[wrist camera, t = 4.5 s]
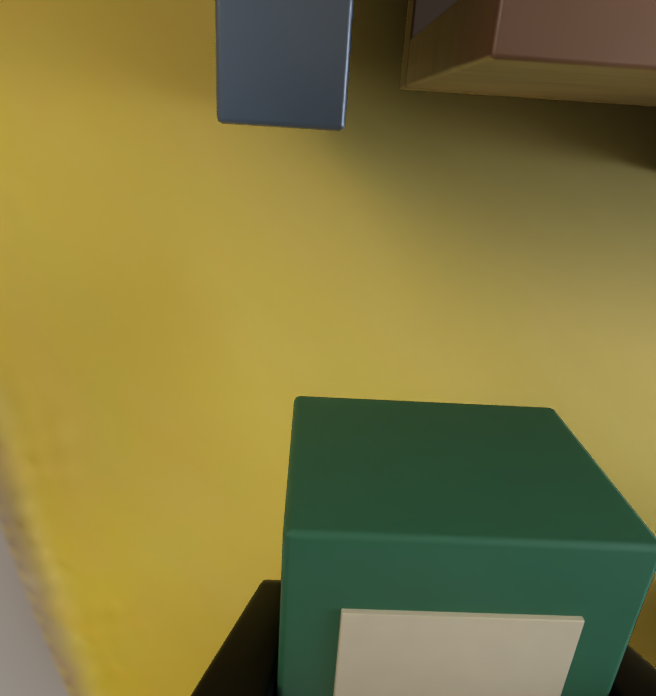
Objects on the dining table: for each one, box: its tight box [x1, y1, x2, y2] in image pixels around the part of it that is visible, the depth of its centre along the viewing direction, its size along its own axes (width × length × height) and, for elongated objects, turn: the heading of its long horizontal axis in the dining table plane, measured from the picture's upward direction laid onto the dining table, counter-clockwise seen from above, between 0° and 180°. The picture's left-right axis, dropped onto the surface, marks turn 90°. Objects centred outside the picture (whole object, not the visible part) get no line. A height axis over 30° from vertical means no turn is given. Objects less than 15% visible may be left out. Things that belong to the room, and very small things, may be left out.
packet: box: [277, 396, 656, 696], centre depth 9 cm, size 6×4×3 cm, turn 176°
